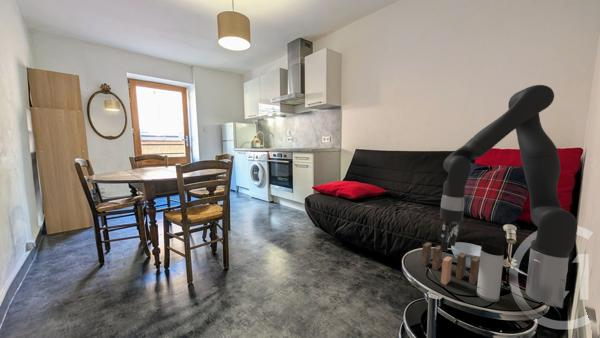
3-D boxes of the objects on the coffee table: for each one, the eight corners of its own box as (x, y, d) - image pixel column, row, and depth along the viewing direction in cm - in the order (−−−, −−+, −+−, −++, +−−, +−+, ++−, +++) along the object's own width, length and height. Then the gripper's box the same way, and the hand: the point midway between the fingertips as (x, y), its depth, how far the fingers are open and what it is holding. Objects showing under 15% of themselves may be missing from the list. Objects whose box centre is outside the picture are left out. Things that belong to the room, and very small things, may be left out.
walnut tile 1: (430, 263, 108) (431, 243, 107) (425, 266, 105) (427, 245, 104) (425, 261, 109) (427, 241, 108) (421, 264, 106) (422, 244, 105)
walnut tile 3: (464, 275, 98) (466, 253, 97) (460, 279, 94) (462, 257, 94) (459, 273, 99) (461, 252, 98) (455, 277, 96) (457, 255, 95)
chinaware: (498, 275, 98) (500, 258, 98) (459, 272, 100) (461, 254, 100) (477, 259, 113) (479, 243, 112) (444, 256, 115) (445, 241, 115)
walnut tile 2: (440, 267, 104) (442, 246, 104) (436, 270, 101) (438, 249, 100) (436, 265, 106) (438, 245, 105) (432, 268, 103) (433, 248, 102)
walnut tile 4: (477, 280, 94) (479, 257, 93) (474, 284, 91) (476, 261, 90) (472, 278, 96) (474, 256, 95) (468, 282, 92) (470, 259, 91)
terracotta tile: (450, 280, 94) (452, 257, 93) (445, 285, 90) (447, 261, 90) (445, 278, 95) (447, 256, 94) (440, 282, 92) (442, 259, 91)
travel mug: (473, 295, 84) (478, 241, 82) (480, 289, 88) (485, 238, 86) (495, 305, 79) (501, 248, 77) (501, 298, 83) (507, 243, 81)
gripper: (457, 212, 83) (452, 256, 84) (469, 207, 92) (464, 246, 93) (434, 207, 88) (430, 249, 90) (447, 203, 98) (443, 240, 99)
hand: (447, 247), depth 92 cm, fingers open, 8 cm apart
